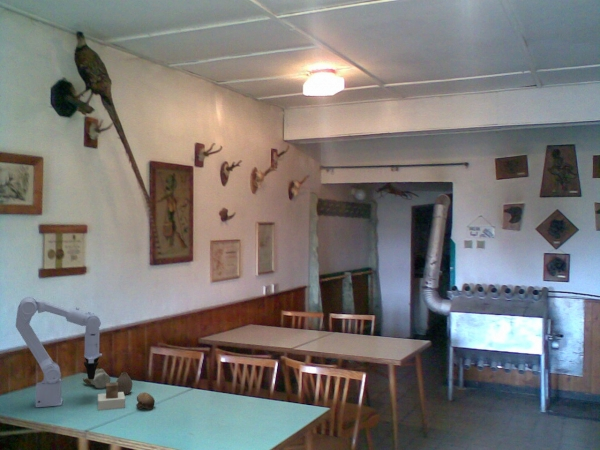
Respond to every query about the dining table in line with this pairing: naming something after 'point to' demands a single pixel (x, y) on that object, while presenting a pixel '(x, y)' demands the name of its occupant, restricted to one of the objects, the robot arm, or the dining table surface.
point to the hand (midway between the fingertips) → (91, 376)
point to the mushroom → (145, 401)
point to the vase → (124, 383)
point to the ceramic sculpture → (99, 379)
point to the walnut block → (112, 390)
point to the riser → (111, 401)
